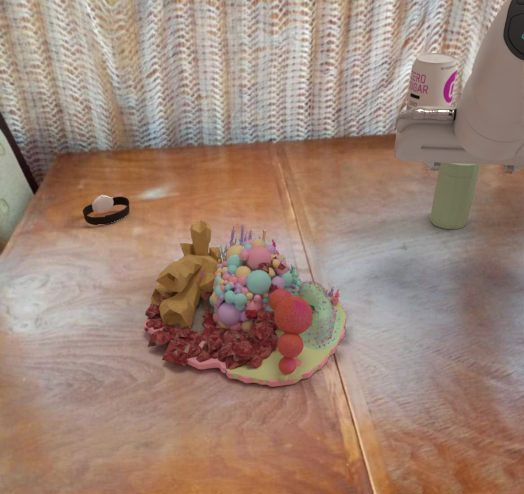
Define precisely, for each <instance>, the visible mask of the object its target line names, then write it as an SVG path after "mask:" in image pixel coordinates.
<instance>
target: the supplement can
mask: <svg viewBox="0 0 524 494" xmlns="http://www.w3.org/2000/svg"><path fill="white" fill-rule="evenodd" d="M458 70H459V67H458V63H457V57H456V56H454V55H453V54H449V53H442V52H428V53H427V52H426V53H422V54H419V55H417V56H416V59H415V60H414V61H413V64H412V65H411V71H410V78H409V79H410V80H409V85H408V91H407V92H408V93H407V100H406V109H405V113H406V112H407V111H408V110H409V109H411V108H413V107H417V106H452V101H453V96H454V91H455V86H456V81H457V75H458Z"/></svg>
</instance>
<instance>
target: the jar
mask: <svg viewBox="0 0 524 494" xmlns="http://www.w3.org/2000/svg"><path fill="white" fill-rule="evenodd" d="M481 166H482V164H463V163H441V165H440V168H439V171H438V173H437V178H436V183H435V188H434V189H435V190H434V194H433V200H432V203H431V204H432V205H431V210H430V217H429V220H430V222H431V224H433V225H434V226H435V227H437V228H439V229H440V228H441V229H445V230H458V229H462V228H464V227H465V226H466V225H467V223H468V220H469V216H470V212H471V209H472V205H473V204H472V203H473V200H474V196H475V192H476V187H477V183H478V180H479V175H480V170H481Z"/></svg>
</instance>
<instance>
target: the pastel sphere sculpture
mask: <svg viewBox="0 0 524 494" xmlns="http://www.w3.org/2000/svg"><path fill="white" fill-rule="evenodd" d="M189 230H190V239H191V241H192V242H191V243H189V242H181V243H179V246H180V249H181V251H182V255H183V256H182V257H181V258H179V259H178V260H175V261H172V262H171V263H170V264H168V265H167V266H166V267H165V268H164V269H163V270H162V271H161V272H160V273H159V275H158V277H157V278H156V280H155V281H156V282H157V283H158V285H157V286H156V287H155V288H154V290H153V292H152V294H151V300H150V304H149V307H148V308H147V309H146V310H145V314H144V316H146V317H147V319H146V320H144V321H143V322H142V325H143V330H144V331H145V332H147V333H148V334H150V338H149V341H148V344H147V348H150V347H157V346H164V345H166V344H167V343H168V345H167V346H166V349H165V351H164V354H163V355H162V358H161V360H162V361H165V362H168V363H172V364H175V365H178V366H183V367H186V366H187V365H189V366H191V367H193V368H196V369H198V370H207V369H213V368H216V369H220V372H221V373H223V374H226V376H227V378H228V379H231V380H232V379H233V380H238V381H241V382H242V383H244V384H252V383H255V384H258V385H261V386H264V385H265V386H266V385H267V386H269V387H272V388H273V387H281V386H289V385H294V384H297V383H298V382H300V381H301V380H306V379H310V378H311V377H312V376H313V374H314V373H315V372H316V371H319V370H321V369H322V368H323V367H324V366H325V365H326V363H327V362H328V361H329V357H330V356H332V355H334V354H335V353H336V351H338V346H339V344H340V343H341V342H342V341H343V339H344V338H345V336H346V330H345V328H346V323H347V314H346V312H345V309H344V307H343V305H342V304H341V301H340V300H339V298H340V292H339V291H340V288H338V289H337V290H336V292H335V289H334V286H332V287H331V288H330V289H331V290H330V289H328V288H326V287H324V286H323V284H321V283H319V282H317V281H315V280H305V281H302V280H301V279H300V278H298V277H299V274H298V273H297V272H295V271H296V270H295V269H296V268H295V266H294V265H293V264H292V263H291V264H290V265H289V264H288V262H287V261H286V256H285V255H284V254H280V252H279V251H278V250H277V243H276V242H275V241H274V239H273V238H272V240H271V242H272V244H268V243H267V242H266V239H267V229H262V238H261V235H259V237H258V238H253V230H252V228H250V229H249V233H245V223H242V225H241V226H240V236H239V237H240V238H239V237H238V236H235V234H236V229H235V225H233V226H232V230H231V232H230V240H229V247H228V245H226V246H225V247H224V250H223V245H222V244H221V243H219V246H214V247H212V246H211V247H210V243H211V241H212V226H211V223H210V222H207V221H204V220H198V221H197V222H195V223H192V224H191V225H190V228H189ZM244 233H245V234H244ZM247 234H248V235H247ZM234 238H235V239H234ZM237 239H238V242H239V244H237ZM334 292H335V293H334Z"/></svg>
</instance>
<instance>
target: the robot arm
mask: <svg viewBox="0 0 524 494" xmlns="http://www.w3.org/2000/svg"><path fill="white" fill-rule="evenodd" d="M475 55H476V56H475V58H474V61H473V63H472V67H471V73H470V75H469V76H468V78H467V80H466V82H465V84H464V86H463V89H462V91H461V95H460V97H459V100H458V101H457V104H456V106H455V105H454V106H453V105H451V106H417V107H413V108H411V109H409V110H408V111H407V112H406V111H405V112H401V113H399V114H398V115H397V117H396V120H395V125H394V126H395V129H396V132H395V139H394V150H393V156H394V158H396V159H397V160H399V161H400V162H411V163H412V162H413V163H415V162H417V163H423V164H425V165H426V171H438V172H439V168H440V165H441V163H463V164H481V165H492V166H493V165H494V166H503V169H502V173H503V174H512V175H516V174H517V173H518V172H519V170H522V169H523V170H524V0H506V1H505V2H504V3H503V4H502V6H501V7H500V9H499V10H498V12H497V14H496V15H495V17H494V18H493V20H492V22H491V24H490V25H489V27H488V29H487V31H486V33H485V35H484V37H483V39H482V41H481V43H480V45H479V48H478V49H477V52H476V54H475Z"/></svg>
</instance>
